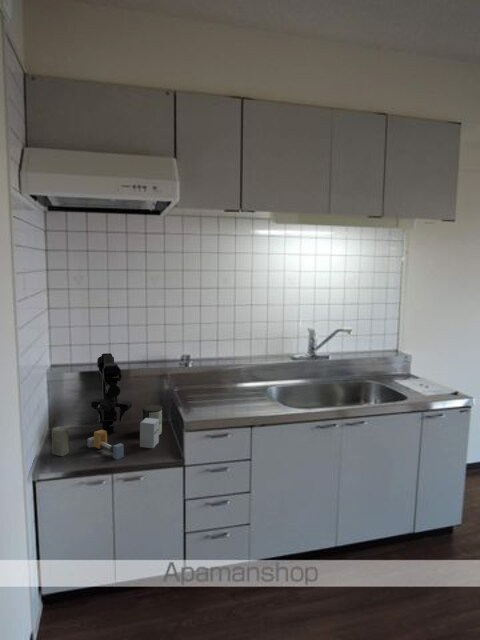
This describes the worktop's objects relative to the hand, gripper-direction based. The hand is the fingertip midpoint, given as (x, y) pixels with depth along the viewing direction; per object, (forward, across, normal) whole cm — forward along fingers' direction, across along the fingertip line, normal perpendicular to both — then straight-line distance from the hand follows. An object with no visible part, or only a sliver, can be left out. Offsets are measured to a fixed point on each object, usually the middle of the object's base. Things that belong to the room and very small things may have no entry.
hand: (111, 421), depth 226 cm
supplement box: (+13, +18, +5) cm, 22 cm away
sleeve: (+11, -4, -4) cm, 13 cm away
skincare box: (+13, -19, -14) cm, 27 cm away
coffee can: (+13, +14, +20) cm, 28 cm away
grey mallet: (+12, 0, -7) cm, 14 cm away
